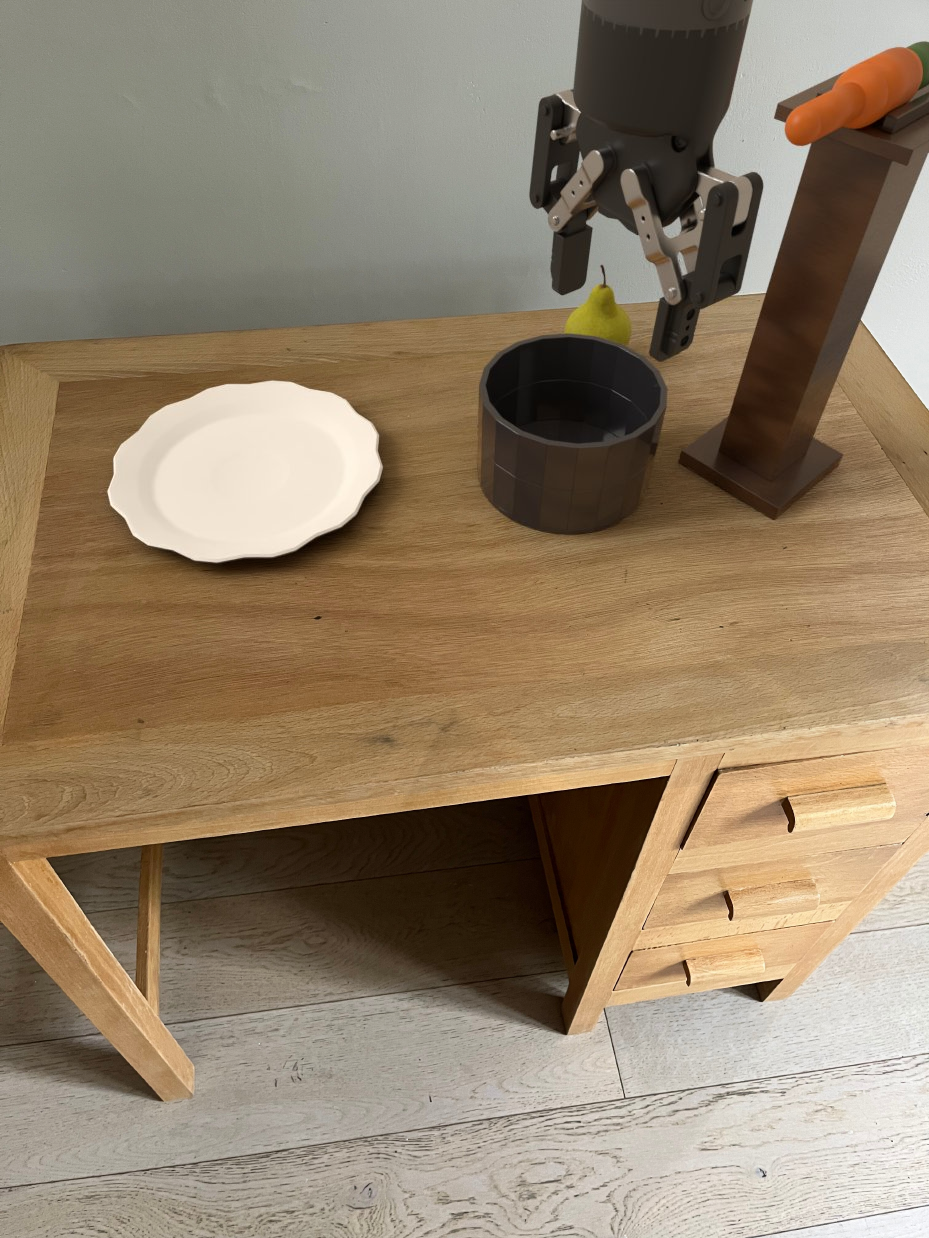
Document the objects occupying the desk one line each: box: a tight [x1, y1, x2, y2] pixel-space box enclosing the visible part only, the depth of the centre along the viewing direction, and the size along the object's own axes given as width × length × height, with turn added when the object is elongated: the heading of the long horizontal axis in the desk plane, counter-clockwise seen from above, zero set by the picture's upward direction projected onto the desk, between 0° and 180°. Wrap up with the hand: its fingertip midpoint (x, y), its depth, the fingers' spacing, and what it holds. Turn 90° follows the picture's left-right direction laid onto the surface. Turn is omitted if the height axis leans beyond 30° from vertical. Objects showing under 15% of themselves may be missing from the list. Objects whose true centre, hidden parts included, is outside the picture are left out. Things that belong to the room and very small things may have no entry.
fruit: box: [563, 264, 633, 347], centre depth 89 cm, size 7×7×12 cm
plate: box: [106, 380, 384, 565], centre depth 81 cm, size 25×25×2 cm
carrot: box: [784, 40, 929, 147], centre depth 55 cm, size 4×16×4 cm, turn 134°
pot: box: [476, 333, 669, 535], centre depth 78 cm, size 16×16×10 cm
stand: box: [678, 70, 929, 521], centre depth 70 cm, size 11×11×33 cm
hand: (614, 320), depth 51 cm, fingers open, 8 cm apart
